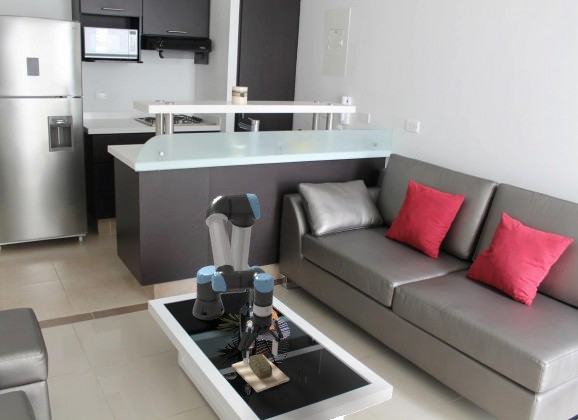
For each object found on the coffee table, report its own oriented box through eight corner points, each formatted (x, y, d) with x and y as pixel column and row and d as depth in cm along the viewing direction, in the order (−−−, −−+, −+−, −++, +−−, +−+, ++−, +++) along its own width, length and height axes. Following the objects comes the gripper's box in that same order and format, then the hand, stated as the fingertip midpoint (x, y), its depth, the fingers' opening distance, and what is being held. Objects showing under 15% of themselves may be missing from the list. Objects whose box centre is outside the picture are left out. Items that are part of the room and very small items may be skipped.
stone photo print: (231, 366, 226) (231, 364, 226) (262, 356, 234) (262, 354, 234) (257, 392, 210) (257, 390, 210) (289, 380, 219) (289, 378, 218)
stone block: (259, 380, 216) (260, 369, 214) (247, 365, 225) (248, 355, 224) (273, 377, 219) (273, 366, 217) (260, 362, 228) (260, 352, 227)
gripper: (239, 324, 204) (238, 373, 211) (294, 309, 218) (291, 355, 225) (229, 315, 210) (228, 363, 217) (283, 301, 224) (280, 346, 231)
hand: (260, 359), depth 221 cm, fingers open, 13 cm apart
